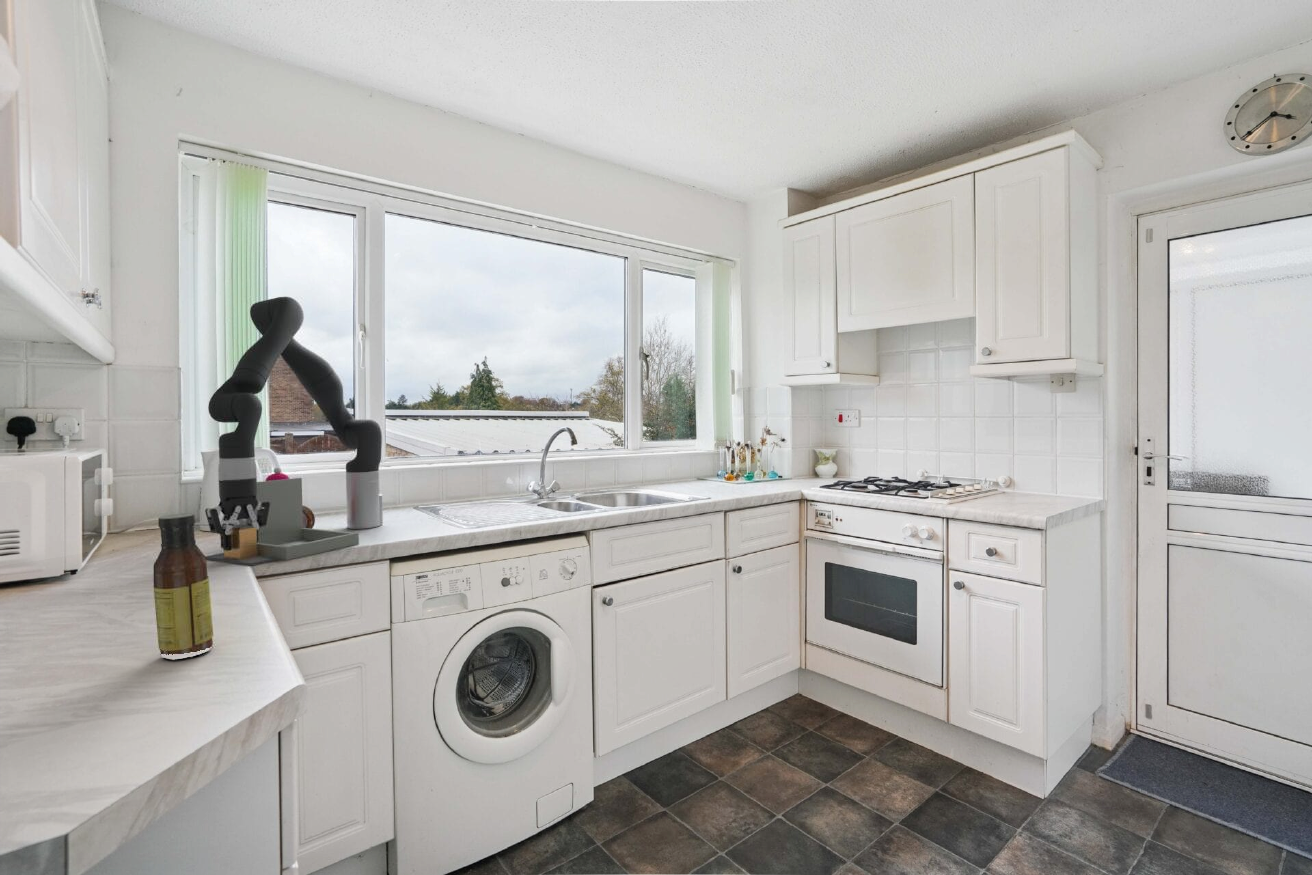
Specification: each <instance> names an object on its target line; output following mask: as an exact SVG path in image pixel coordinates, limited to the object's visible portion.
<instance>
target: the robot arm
mask: <svg viewBox="0 0 1312 875" xmlns="http://www.w3.org/2000/svg"><path fill="white" fill-rule="evenodd" d="M249 315H250V319H251V321H252V324H253V325H254V327H255V328H256V330H257V331H258V332H259V333H260V334H261V337H260V338H259V339H257V341H255V343H254V344H252V345H251V346H250V347H249V348H248V349H247V350H246V351H245V352H244V353H243V355H242V356H241V357H240V359H239V361H238V363H237V365H236V366H235V368H234V371H233V373H232V375H231V376H230V377H229V378H228V379H227V380H225V381H224V382H223V384H221V385H220V386H219V387H218V389H217V390H216V391H215V392H214V393H213V394H212V396H211V397H210V399H209V402H208V413H209V415H210V417H211V418H212V419H213V420H214V421H216V422H218V423H230V424H231V423H237V425H236V428H235V430H233V431H231V432H226V433H222V434H221V435H220V436H219V438H218V461H219V462H218V467H217V468H218V471H217V473H218V474H217V475H218V497H219V503H218V505H217V506H215V507H214V506H213V507H212V508H209V507H208V508H206V509H205V510H204V512H205V517H206V519H207V523H208V526H209V527H208V528H209V531H210V532H211V533H213V534H219V536H220V538H219V539H220V547H221V549H223V551H224V550H225V551H229V550H232V539H231V535H230V532H231V529H232V527H233V525H234V524H235V522H236V520H239V519H243V520H244V522H246V524H247V525H250V526H254V527H256V531H257V543H258V529H259V528H260V527H262V526H265V525H266V524H267V518H268V512H269V507H270V503H269V502H264V501H261V502H258V500H257V498H256V495H257V482H258V481H257V480H258V479H257V478H258V476H257V462H256V457H255V451H256V450H255V441H256V435H257V432H258V427H259V425H260V420H261V418H262V414H263V405H262V402H261V400H260V398H259V397H258V396H257V394H259V393H261V392H262V391H263V390H264V388H265V386H266V383H267V382H268V379H269V376H270V374H271V373H272V370H273V368H274V366H275V364H276V363H277V361H278V359H279V358H280V357H281V358H282V359H283V361H284V362H285V363H286V365H287V366H288V367H289V369H290V370H291V371H292V372H293V374H294V375H295V376H296V378H297V379H298V381H299V382H300V383H301V385H302V386H303V388H304V389H305V390H306V392H307V394H308V395H309V396H310V397H311V398H312V399H313V402H315V404H316V405H317V406H318V408H319V409H320V411H321V412H322V414H323V415H324V416H325V418H326V420H327V421H328V423H329V424H330V427H331V429H332V430H333V432H334V433H335V436H337V438H338V440H339V441H340V442H341V444H342V445H343V446H344V447H345V448H347V449H349V450H356V455H355V457H354V458H353V459H352V460H350V461H348V462H346V464H345V481H346V482H345V483H346V484H345V486H346V488H345V489H346V490H345V492H346V523H347V525H346V526H347V529H352V530H354V529H355V530H358V529H372V528H376V527H380V526H383V525H384V522H383V520H384V519H383V517H384V516H383V515H384V514H383V494H380V471H379V470H380V463H381V461H382V443H383V439H382V438H383V436H382V435H383V434H382V429H381V426H380V424H379V423H378V422H377V421H375V420H372V419H365V418H364V419H363V418H362V419H356V418H355V417H354V416H353V415H352V414H351V413H350V411H349V410H348V408H347V406H346V405H345V401H344V387H343V382H342V380H341V379H340V377H339V376H338V374H337V372H336V371H335V369H334V368H333V366H331V364H330V362H329V361H327V360H326V359H325V358H323V357H322V356H320V355H318V354H317V353H315V352H314V351H312V350H310V349H308V348H307V347H305V346H303V345H302V344H301V343H300V342H299V341H297V340H296V339H295V335H296V334H297V333H298V331H299V330H300V329H301V327H302V325H303V323H304V319H305V316H304V310H303V308H302V306H301V304H300V303H299V302H298V301H297V300H296V299H295V298H293V297H291V296H279V297H278V296H277V297H274V298H270V299H265V300H261V301H257V302H255V303H252V305H251V306H250V309H249ZM340 442H339V443H340ZM256 507H257V509H258V512H257V517H256V516H255V513H254V510H255V508H256ZM221 513H222V514H223V515H222V517H221V520H220V517H219V516H220V515H221ZM228 520H229V521H228Z"/></svg>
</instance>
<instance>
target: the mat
mask: <svg viewBox="0 0 1312 875" xmlns="http://www.w3.org/2000/svg"><path fill="white" fill-rule="evenodd" d="M205 557H206V561H207V560H208V561H213V562H214V561H216V562H221V563H231V564H235V565H243V566H244V565H245V566H250V567H253V566H257V565H261V564H267V563H271V562H276V561H278V559H277V558H275V557H267V556H259V555H257V557H252V558H247V559H242V560H237V559H230V558H224V552H221V553H216V554H210V555H206V556H205Z"/></svg>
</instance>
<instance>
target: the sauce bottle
mask: <svg viewBox="0 0 1312 875" xmlns="http://www.w3.org/2000/svg"><path fill="white" fill-rule="evenodd" d="M195 517H196V516H195V514H194V513H187V512H185V513H174V514H167V515H163V516H160V517H158V528H159V529H160V537H161V538H160V539H161V540H160V541H161V544H160V547H161V550H160V552H159V553H158V556H157V558H156V559H155V562H154V563H153V567H152V568H153V572H152V573H153V596H154V608H155V610H154V611H155V621H156V631H157V632H156V633H157V644H158V645H157V646H158V650H159V651H160V655H161V654H166V655H167V654H168V655H169V654H172V655H173V654H184V653H190V652H197V651H200V650H205V649H206V648H210V647H211V646H212V645H213V644H214V641H213V637H214V628H213V627H214V626H213V614H212V613H213V612H212V601H211V591H210V590H211V589H210V577H209V576H208V564H207V559H206V557H205V554H204V553H203V552H202V550H201V549H200V548H199V546H198V545H197V544H196V542H197V540H196V538H195V526H194V525H195V524H196V523H197V522H196V521H197V520H196V518H195ZM212 647H213V646H212Z"/></svg>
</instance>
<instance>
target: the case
mask: <svg viewBox="0 0 1312 875" xmlns="http://www.w3.org/2000/svg"><path fill="white" fill-rule="evenodd" d="M302 478H303V477H296V478H295V477H294V478H289V479H283V480H272V481H265V480H263V481H257V495H256V498H257V500H258V502H261V501H264V502H269V503H270V507H269V512H268V518H267V524H266V525H265V526H262V527H260V528H259V529H258V543H257V555H259V556H267V557H275V558H277V560H283V561H290V560H294V559H298V558H303V557H308V556H312V555H316V554H321V553H326V552H330V550H331V551H333V550H332V549H335V550H340V549H344V548H347V547H346V546H349V547H354V546H358V545H359V544H360V540H359V536H360V535H359V533H360V532H350V531H340V530H330V529H320V528H312V529H311V528H303V507H302V506H303V479H302ZM257 512H258V509H257V507H256V508H255V510H254V513H255V516H256V517H257ZM228 521H229V520H228ZM234 525H247V524H246V522H244V520H243V519H239V520H236V522H235V524H234ZM301 540H303V541H304V540H305V541H308V542H303V543H296V544H292V545H282V544H285V543H291V542H296V541H301ZM312 540H313V541H312ZM357 544H358V545H357ZM343 547H344V548H343ZM339 548H340V549H339Z"/></svg>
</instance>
